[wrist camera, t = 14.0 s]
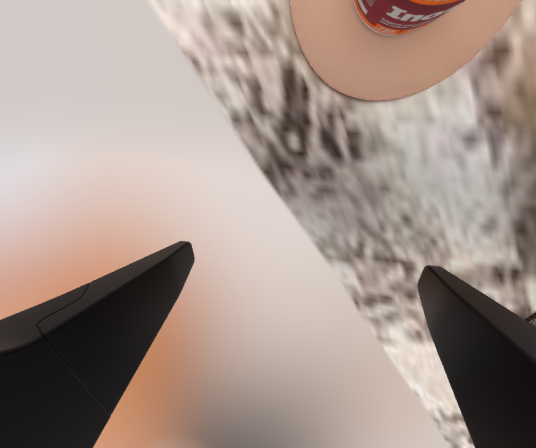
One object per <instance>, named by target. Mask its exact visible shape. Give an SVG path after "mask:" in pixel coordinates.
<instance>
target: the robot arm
mask: <svg viewBox="0 0 536 448" xmlns="http://www.w3.org/2000/svg"><path fill="white" fill-rule="evenodd" d="M194 259H195V258H194V253H193V249H192V245H191V243H190V242H186V241H180V242H177V243H175V244H173V245H171V246H169V247H166V248H164V249H162V250H160V251H158V252H156V253H153V254H151V255H149V256H147V257H144V258H142V259H140V260H138V261H136V262H133V263H131V264H129V265H127V266H125V267H122V268H120V269H118V270H116V271H114V272H112V273H109V274H107V275H105V276H103V277H101V278H99V279H96V280H94V281H92V282H91V283H88V284H85V285H83V286H81V287H79V288H76V289H74V290H72V291H69V292H67V293H65V294H63V295H61V296H58V297H56V298H53V299H51V300H48V301H46V302H44V303H41V304H39V305H36V306H34V307H31V308H29V309H26V310H24V311H21V312H19V313H16V314H14V315H11V316H9V317H6V318H4V319H2V320H0V448H93V446H94V445H95V443H96V441H97V439H98V438H99V436H100V434H101V432H102V431H103V429H104V427H105V425H106V424H107V422H108V420H109V418H110V416H111V414H112V413H113V411H114V409H115V407H116V406H117V404H118V402H119V400H120V399H121V397H122V395H123V393H124V392H125V390H126V388H127V386H128V385H129V383H130V381H131V379H132V378H133V376H134V374H135V372H136V370H137V369H138V367H139V365H140V364H141V361H142V360H143V358H144V357H145V355H146V353H147V351H148V349H149V348H150V346H151V344H152V342H153V341H154V339H155V337H156V335H157V333H158V332H159V330H160V328H161V327H162V325H163V323H164V321H165V320H166V318H167V316H168V314H169V313H170V311H171V309H172V307H173V306H174V303H175V302H176V300H177V299H178V297H179V295H180V293H181V291H182V289H183V287H184V284H185V282H186V280H187V277H188V275H189V273H190V270H191V268H192V266H193V264H194ZM418 291H419V295H420V299H421V302H422V306H423V310H424V314H425V318H426V321H427V325H428V328H429V331H430V334H431V337H432V339H433V342H434V344H435V347H436V349H437V352H438V354H439V357H440V360H441V362H442V365H443V367H444V370H445V372H446V375H447V377H448V380H449V383H450V385H451V388H452V390H453V393H454V395H455V398H456V400H457V403H458V406H459V408H460V411H461V413H462V416H463V418H464V421H465V423H466V426H467V429H468V431H469V434H470V436H471V439H472V441H473V444H474V446H475V448H536V327H535V326H534V325H532V324H530V323H529V322H527V321H526V320H524V319H522V318H521V317H519V316H518V315H516V314H515V313H513V312H511V311H510V310H508V309H507V308H505V307H504V306H502V305H500V304H499V303H497V302H496V301H494V300H492V299H491V298H489V297H488V296H486V295H485V294H483V293H481V292H480V291H478V290H477V289H475V288H474V287H472V286H470V285H469V284H467V283H466V282H464V281H462V280H461V279H459V278H458V277H456V276H455V275H453V274H451V273H450V272H448V271H447V270H445V269H444V268H442V267H440V266H432V265H427V266H425V267H424V269H423V272H422V274H421V276H420V279H419V281H418Z"/></svg>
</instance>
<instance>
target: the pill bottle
mask: <svg viewBox="0 0 536 448" xmlns="http://www.w3.org/2000/svg"><path fill="white" fill-rule="evenodd" d="M464 1H466V0H353V3H354V6H355V9H356V11H357V13H358V15H359V17H360V19H361V20H362V21H363V23H364V24H365V25H366V26H367V27H368V28H370V29H371V30H373V31H374V32H376V33H378V34H381V35H385V36H400V35H405V34H408V33H412V32H414V31H416V30H418V29H421V28H423V27H425V26H426V25H428V24H430V23H431V22H433V21H434V20H436V19H438V18H439V17H441V16H442V15H444V14H445V13H447V12H448V11H450V10H452V9H453V8H455V7H456V6H458V5H460V4H461V3H463V2H464Z"/></svg>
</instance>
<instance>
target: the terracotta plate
mask: <svg viewBox="0 0 536 448" xmlns="http://www.w3.org/2000/svg"><path fill="white" fill-rule="evenodd" d="M520 1H521V0H466V1H464V2H463V3H461V4H460V5H458V6H456V7H455V8H453V9H452V10H450V11H448V12H447V13H445V14H444V15H442V16H441V17H439V18H438V19H436V20H434V21H433V22H431V23H430V24H428V25H426V26H425V27H423V28H421V29H418V30H416V31H414V32H412V33H408V34H405V35H400V36H385V35H381V34H378V33H376V32H374V31H373V30H371V29H370V28H368V27H367V26H366V25H365V24H364V23H363V21H362V20H361V19H360V17H359V15H358V13H357V11H356V9H355V6H354V3H353V0H290V6H291V12H292V19H293V24H294V27H295V31H296V35H297V38H298V41H299V43H300V46H301V48H302V51H303V53H304V55H305V57H306V59H307V60H308V62H309V64H310V65H311V67H312V68H313V69H314V71H315V72H316V73H317V75H318V76H319V77H320V78H321V79H322V80H323V81H324V82H325V83H327V84H328V85H329V86H331V87H332V88H334V89H335V90H337V91H339V92H341V93H343V94H345V95H348V96H351V97H354V98H358V99H364V100H382V101H383V100H391V99H398V98H402V97H405V96H409V95H412V94H415V93H418V92H420V91H423V90H425V89H427V88H429V87H431V86H433V85H435V84H437V83H439V82H441V81H442V80H444V79H445V78H447V77H448V76H450V75H451V74H453V73H455V72H456V71H457V70H458V69H460V68H461V67H462V66H464V65H465V64H466V63H467V62H469V61H470V60H471V59H472V58H473V57H474V56H475V55H476V54H477V53H478V52H480V51H481V50H482V49H483V48H484V47H485V46H486V45H487V44H488V42H489V41H490V40H491V39H492V38H493V37H494V36H495V35H496V34H497V33H498V31H499V30H500V29H501V28H502V26H503V25H504V24H505V23H506V21H507V20H508V19H509V17H510V16H511V15H512V13H513V12H514V11H515V9H516V8H517V6H518V4H519V3H520Z"/></svg>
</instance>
